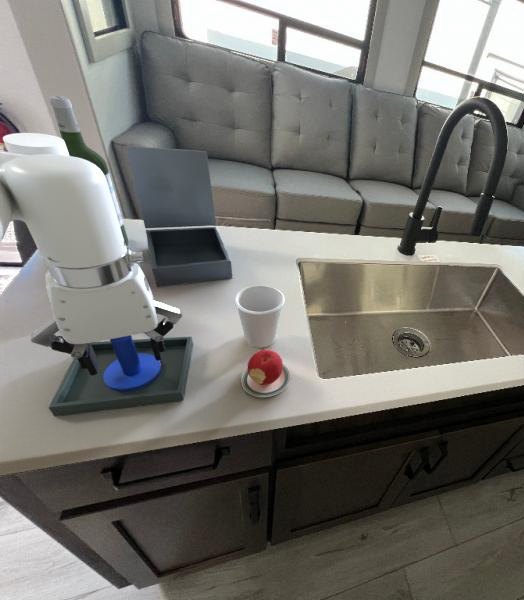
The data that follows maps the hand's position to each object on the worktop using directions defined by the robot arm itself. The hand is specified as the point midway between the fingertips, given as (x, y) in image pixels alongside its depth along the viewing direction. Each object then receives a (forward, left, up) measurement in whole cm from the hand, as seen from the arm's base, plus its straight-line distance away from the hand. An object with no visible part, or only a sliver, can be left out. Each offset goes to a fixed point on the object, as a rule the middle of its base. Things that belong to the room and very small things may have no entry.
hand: (127, 360), depth 50 cm
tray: (0, 0, -4) cm, 4 cm away
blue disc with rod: (0, 0, -3) cm, 3 cm away
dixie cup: (+11, +17, -4) cm, 21 cm away
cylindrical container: (-31, +16, -4) cm, 35 cm away
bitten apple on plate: (+18, +9, -4) cm, 21 cm away
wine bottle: (-35, +24, -4) cm, 43 cm away
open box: (-17, +29, -4) cm, 34 cm away
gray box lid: (-24, +35, +10) cm, 44 cm away
